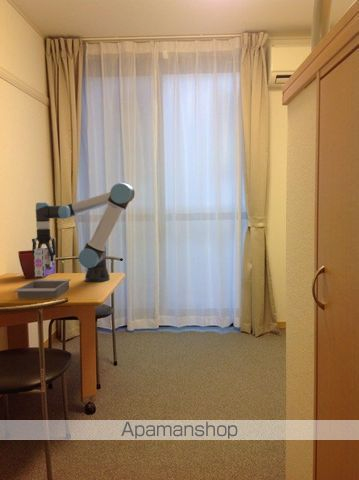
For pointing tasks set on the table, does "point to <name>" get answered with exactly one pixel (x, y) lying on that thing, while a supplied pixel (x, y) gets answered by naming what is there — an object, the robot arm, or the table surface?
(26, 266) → the plant pot
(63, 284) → the grey rectangular frame
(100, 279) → the robot arm
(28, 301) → the table surface
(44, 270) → the candy box
